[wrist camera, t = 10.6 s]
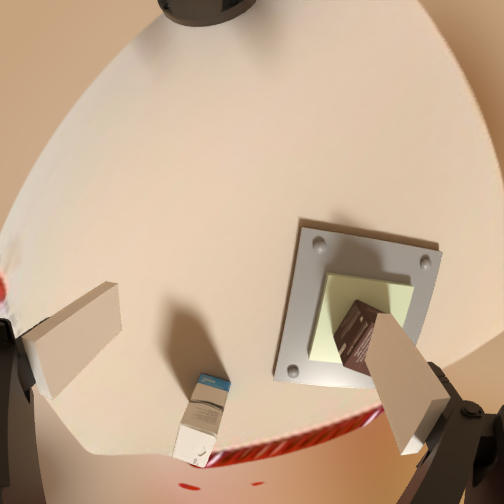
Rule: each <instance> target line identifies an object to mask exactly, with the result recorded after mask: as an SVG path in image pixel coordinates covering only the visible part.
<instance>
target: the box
mask: <svg viewBox="0 0 504 504" xmlns="http://www.w3.org/2000/svg"><path fill="white" fill-rule="evenodd" d="M378 313H384V314H387V313H385V312H383V311H380V310H378V309H376V308H374V307H372V306H370V305H368V304H366V303H364V302H362V301H359V300H355V302H354V303H353V305H352V306H351V308H350V310H349V311H348V313H347V314H346V316H345V318H344V319H343V321H342V322H341V324H340V326H339V327H338V329H337V331H336V332H335V334H334V336H333V338H334V341H335V344H336V347H337V350H338V352H339V355H340V358H341V361H342V364H343V367H346V368H348V369H351V370H353V371H356V372H359V373H362V374H364V375H367V376H370V377H371V374H370V372H369V370H368V367H367V365H366V362H365V358H366V354H367V351H368V347H369V344H370V340H371V337H372V333H373V329H374V326H375V322H376V318H377V314H378Z"/></svg>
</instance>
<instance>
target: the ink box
mask: <svg viewBox="0 0 504 504" xmlns="http://www.w3.org/2000/svg"><path fill="white" fill-rule="evenodd" d="M230 385H231V382H229V381H226V380H223V379H219V378H216V377H212V376H209V375H206V374H201V375H200V378H199V380H198V382H197V385H196V387H195V389H194V392H193V394H192V396H191V399H190V401H189V403H188V406H187V408H186V410H185V413H184V415H183V417H182V420H181V422H180V426H179V430H178V434H177V438H176V442H175V446H174V450H173V455H172V457H174V458H176V459H179V460H182V461H185V462H188V463H191V464H193V465H197V466H200V467H202V468H204V467H205V466H206V463H207V461H208V458H209V456H210V454H211V450H212V448H213V446H214V444H215V441H216V436H217V433H218V429H219V425H220V422H221V418H222V415H223V411H224V407H225V403H226V400H227V396H228V392H229V388H230Z"/></svg>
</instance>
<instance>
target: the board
mask: <svg viewBox="0 0 504 504" xmlns="http://www.w3.org/2000/svg"><path fill="white" fill-rule="evenodd" d="M441 257H442V252H441V251H438V250H433V249H428V248H423V247H417V246H412V245H407V244H401V243H396V242H391V241H385V240H379V239H374V238H368V237H362V236H357V235H351V234H345V233H339V232H333V231H327V230H320V229H314V228H308V227H301V233H300V239H299V245H298V251H297V257H296V263H295V269H294V275H293V280H292V286H291V292H290V297H289V303H288V308H287V313H286V319H285V324H284V329H283V334H282V339H281V344H280V349H279V354H278V359H277V363H276V368H275V373H274V380H273V381H281V382H289V383H298V384H308V385H319V386H331V387H347V388H372V389H376V387H375V384H374V382H373V379H372V377H370V376H367V375H364V374H362V373H359V372H356V371H353V370H351V369H348V368H346V367H343V364H342V361H341V358H340V355H339V352H338V350H337V347H336V344H335V341H334V338H333V336H334V334H335V332H336V331H337V329H338V327H339V326H340V324H341V322H342V321H343V319H344V318H345V316H346V314H347V313H348V311H349V310H350V308H351V306H352V305H353V303H354V302H355V300H359V301H362V302H364V303H366V304H368V305H370V306H372V307H374V308H376V309H378V310H380V311H383V312H385V313H387V314H392V315H393V317H394V318H395V319H396V321H397V322H398V323H399V325H400V326H401V327H402V329H403V330H404V331H405V333H406V334H407V335H408V337H409V338H410V339H411V341H412V342H413V344H414V345H415V346H416V343H417V341H418V338H419V335H420V332H421V329H422V326H423V323H424V320H425V317H426V314H427V310H428V307H429V304H430V300H431V297H432V293H433V290H434V286H435V282H436V278H437V274H438V270H439V266H440V262H441Z"/></svg>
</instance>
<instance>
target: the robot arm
mask: <svg viewBox="0 0 504 504" xmlns="http://www.w3.org/2000/svg"><path fill="white" fill-rule="evenodd" d="M255 1H256V0H158V4H159V6H160V8H161V9H162V11H163V12H164V13H165V15H166V16H167V17H168V18H169V19H170V20H172V21H173V22H175V23H178V24H181V25H185V26H192V27H203V26H211V25H216V24H220V23H223V22H226V21H229V20H231V19H233V18H235V17H237V16H239V15H241V14H242V13H244V12H245V11H247V10H248V9H249V8H250V7H251V6H252V5H253V4H254V3H255ZM121 330H122V326H121V316H120V306H119V294H118V283H112V282H107V281H106V282H104V283H103V284H101V285H99V286H98V287H96V288H95V289H93V290H91V291H90V292H88V293H87V294H85V295H84V296H82V297H80V298H79V299H77V300H76V301H74V302H73V303H71V304H70V305H68V306H66V307H65V308H63V309H62V310H60V311H59V312H57V313H56V314H54V315H53V316H51V317H48V318H46V319H44V320H43V321H41V322H40V323H39V324H37V325H35V326H34V327H33V328H31V329H29V330H28V331H26V332H25V333H23V334H22V335H20V336H19V337H18V338H16V339H15V337H14V333H13V329H12V325H11V322H10V321H9V320H8V319H5V318H0V504H46V500H45V495H44V490H43V485H42V480H41V474H40V469H39V461H38V454H37V445H36V435H35V422H34V395H33V391H32V388H31V387H32V386H33V385H34V384H35V383H36V385H37V387H38V390H39V393H40V394H41V395H43V396H45V397H47V398H49V399H51V400H54V399H55V398H56V397H57V396H58V395H59V393H60V392H61V391H62V390H63V389H64V388H65V387H66V386H67V385H68V384H69V383H70V382H71V381H72V380H73V379H74V378H75V377H76V376H77V375H78V374H79V373H80V372H81V371H82V370H83V369H84V368H85V367H86V366H87V365H88V364H89V362H90V361H91V360H92V359H93V358H94V357H95V356H96V355H97V354H98V353H99V352H100V351H101V350H102V349H103V348H104V347H105V346H106V345H107V344H108V343H109V342H110V341H111V340H112V339H113V338H114V337H115V336H116V335H117V334H118V333H119V332H120V331H121ZM365 362H366V365H367V367H368V370H369V372H370V374H371V377H372V379H373V382H374V384H375V387H376V390H377V392H378V395H379V397H380V400H381V402H382V405H383V408H384V410H385V413H386V416H387V418H388V421H389V424H390V426H391V429H392V432H393V435H394V437H395V440H396V443H397V446H398V449H399V452H400V455H406V454H413V453H418V452H419V451H420V449H421V448H422V446H423V445H424V443H425V442H426V444H427V447H428V451H427V452H426V454H425V455H424V456H423V458H422V459H421V461H420V462H419V464H418V465H417V466H416V467H417V470H416V472H415V474H414V476H413V477H412V479H411V481H410V482H409V484H408V486H407V487H406V489H405V491H404V492H403V494H402V496H401V497H400V499H399V500H398V502H397V503H396V504H459V503H460V500H461V498H462V495H463V492H464V490H465V500H464V504H504V405H502V407H501V408H500V410H499V412H498V413H497V414H485V413H484V411H483V409H482V408H481V407H480V406H479V405H478V404H476V403H474V402H471V401H467V400H466V401H463V400H462V398H461V397H460V396H459V394H458V393H457V391H456V390H455V388H454V387H453V386H452V384H451V383H449V380H448V378H447V377H445V374H444V373H443V372H442V370H441V369H440V368H439V367H438V366H437V365H435V364H434V363H432V362H426V360H425V359H424V358H423V356H422V355H421V353H420V352H419V351H418V349H417V348H416V346H415V345H414V344H413V342H412V341H411V339H410V338H409V337H408V335H407V334H406V333H405V331H404V330H403V329H402V327H401V326H400V325H399V323H398V322H397V321H396V319H395V318H394V317H393V315H392V314H384V313H378V314H377V318H376V322H375V326H374V329H373V333H372V337H371V340H370V344H369V347H368V351H367V354H366V358H365ZM465 487H466V489H465Z"/></svg>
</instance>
